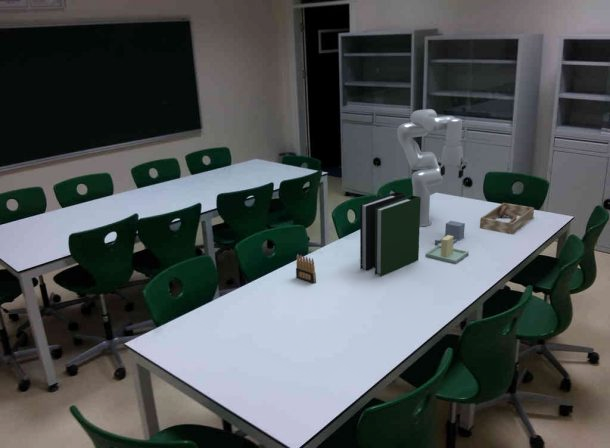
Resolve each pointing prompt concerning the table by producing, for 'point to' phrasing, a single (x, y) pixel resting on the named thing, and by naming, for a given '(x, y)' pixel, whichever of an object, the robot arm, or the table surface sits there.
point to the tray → (452, 258)
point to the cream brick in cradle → (447, 246)
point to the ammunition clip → (305, 269)
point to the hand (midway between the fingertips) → (451, 176)
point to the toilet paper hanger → (507, 214)
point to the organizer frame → (507, 227)
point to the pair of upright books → (389, 232)
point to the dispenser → (453, 231)
